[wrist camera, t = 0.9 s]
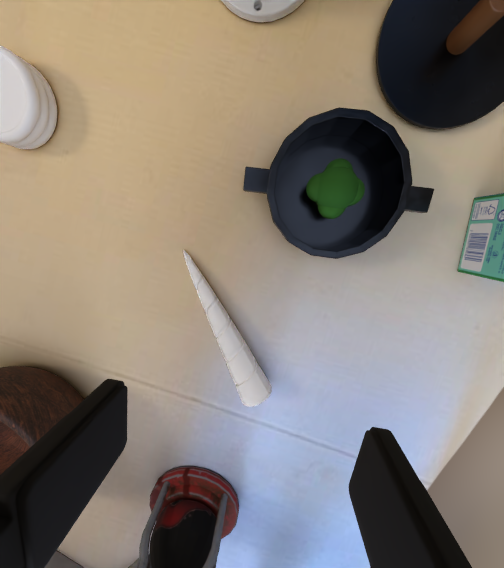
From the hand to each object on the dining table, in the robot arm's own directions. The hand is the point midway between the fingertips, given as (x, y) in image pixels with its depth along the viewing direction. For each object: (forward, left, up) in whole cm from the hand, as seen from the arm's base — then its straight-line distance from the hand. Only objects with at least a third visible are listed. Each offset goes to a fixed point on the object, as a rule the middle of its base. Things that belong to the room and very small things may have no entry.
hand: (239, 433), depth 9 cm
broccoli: (-13, +6, -24) cm, 28 cm away
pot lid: (-29, +16, -24) cm, 41 cm away
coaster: (-19, -34, -25) cm, 46 cm away
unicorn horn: (+7, -5, -25) cm, 26 cm away
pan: (-13, +6, -24) cm, 28 cm away
